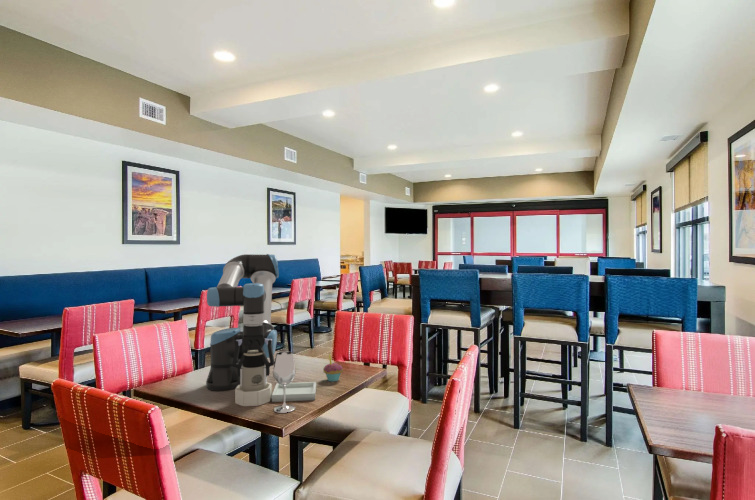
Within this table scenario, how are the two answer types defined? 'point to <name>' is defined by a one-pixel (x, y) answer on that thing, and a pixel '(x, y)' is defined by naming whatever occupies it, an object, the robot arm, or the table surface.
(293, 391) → the tray
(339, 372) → the cupcake
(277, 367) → the wineglass
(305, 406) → the table surface
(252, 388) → the travel mug
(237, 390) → the holder
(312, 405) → the table surface
